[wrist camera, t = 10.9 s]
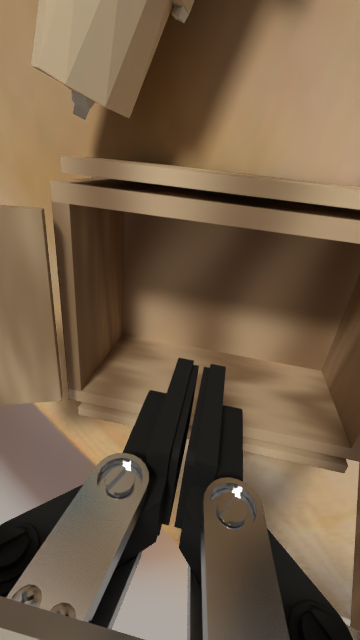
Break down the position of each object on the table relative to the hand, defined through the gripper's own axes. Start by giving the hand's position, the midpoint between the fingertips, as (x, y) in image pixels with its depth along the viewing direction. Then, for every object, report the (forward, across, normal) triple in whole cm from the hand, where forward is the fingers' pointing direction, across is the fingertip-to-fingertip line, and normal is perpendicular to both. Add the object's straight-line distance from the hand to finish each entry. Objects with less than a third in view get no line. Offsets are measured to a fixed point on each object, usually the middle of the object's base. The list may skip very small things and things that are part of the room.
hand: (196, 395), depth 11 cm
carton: (+12, -1, 0) cm, 12 cm away
